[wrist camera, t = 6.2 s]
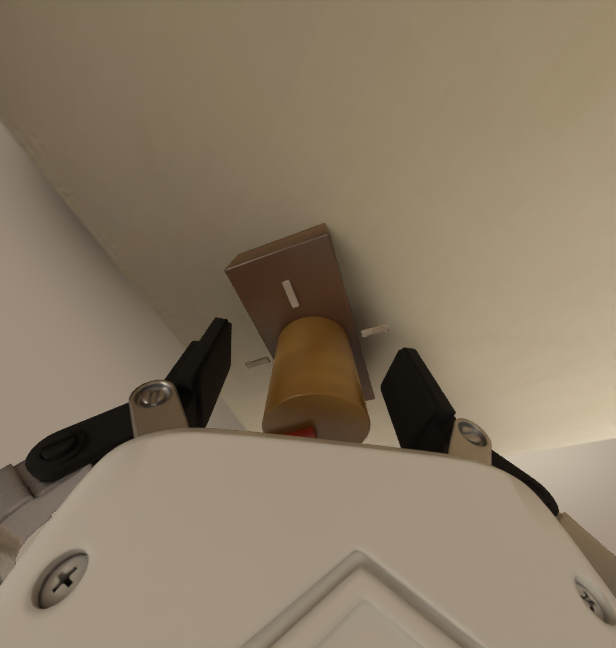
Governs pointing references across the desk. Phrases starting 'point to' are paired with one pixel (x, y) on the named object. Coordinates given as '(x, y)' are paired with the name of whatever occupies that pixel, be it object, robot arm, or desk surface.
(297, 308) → the dial panel
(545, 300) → the desk surface
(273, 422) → the knob
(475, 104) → the desk surface
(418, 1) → the desk surface
